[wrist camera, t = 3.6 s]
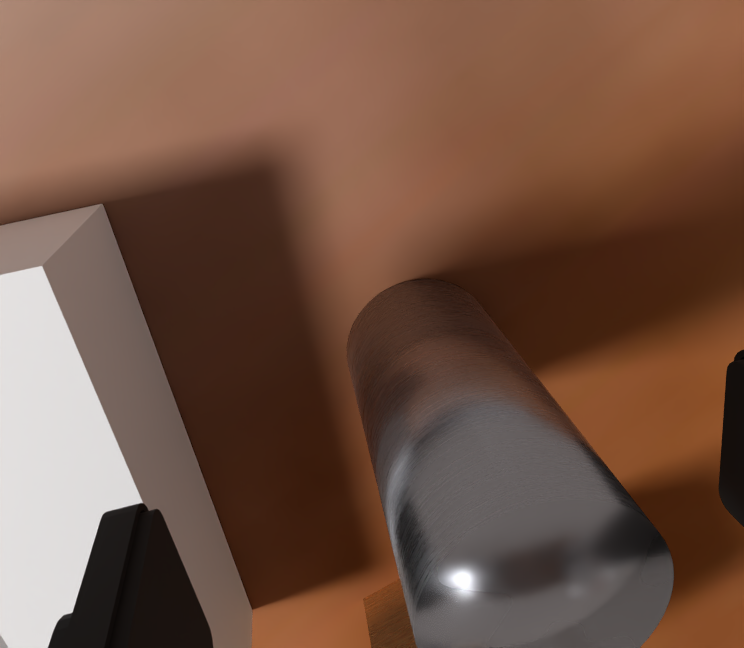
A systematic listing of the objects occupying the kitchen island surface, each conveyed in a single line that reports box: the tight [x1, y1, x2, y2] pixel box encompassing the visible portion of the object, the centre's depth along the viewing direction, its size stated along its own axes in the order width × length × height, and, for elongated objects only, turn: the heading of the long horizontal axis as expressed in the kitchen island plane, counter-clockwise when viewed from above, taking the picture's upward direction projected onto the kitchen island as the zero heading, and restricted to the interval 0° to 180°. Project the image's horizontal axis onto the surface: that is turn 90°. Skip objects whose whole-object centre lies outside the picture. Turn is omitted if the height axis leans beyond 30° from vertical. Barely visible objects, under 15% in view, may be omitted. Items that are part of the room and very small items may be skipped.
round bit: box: [347, 279, 674, 648], centre depth 12 cm, size 4×4×8 cm
